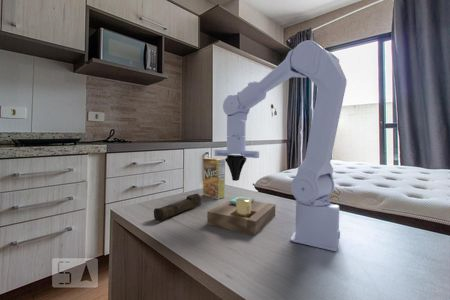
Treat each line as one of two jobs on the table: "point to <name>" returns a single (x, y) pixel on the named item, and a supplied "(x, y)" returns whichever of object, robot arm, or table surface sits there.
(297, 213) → the robot arm
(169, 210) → the dark brown log
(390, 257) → the table surface
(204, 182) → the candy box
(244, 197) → the teal flat square block
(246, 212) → the peg
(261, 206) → the block
